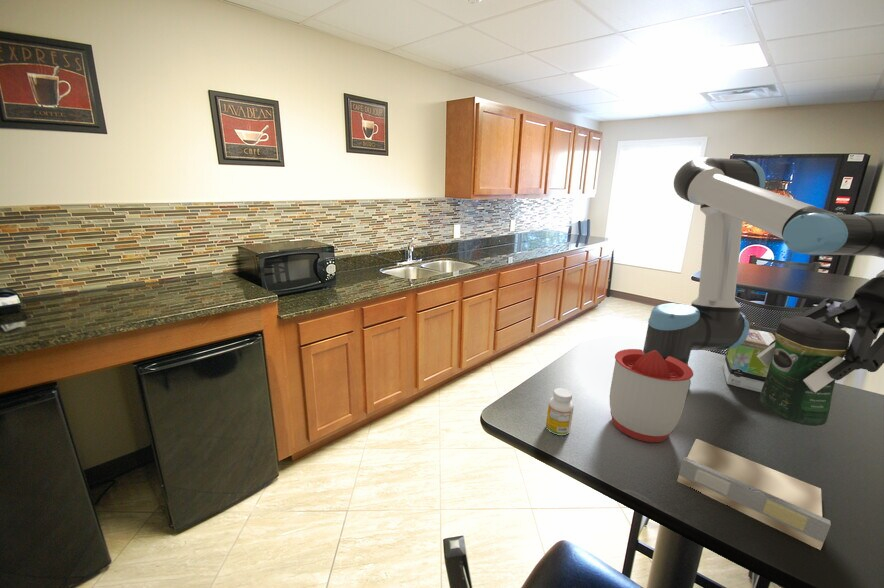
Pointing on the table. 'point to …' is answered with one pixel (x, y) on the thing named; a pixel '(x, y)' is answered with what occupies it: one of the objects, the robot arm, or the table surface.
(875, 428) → the table surface
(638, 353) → the citrus juicer
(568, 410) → the supplement bottle
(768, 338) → the tea box
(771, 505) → the rail
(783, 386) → the coffee jar
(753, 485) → the shelf board
